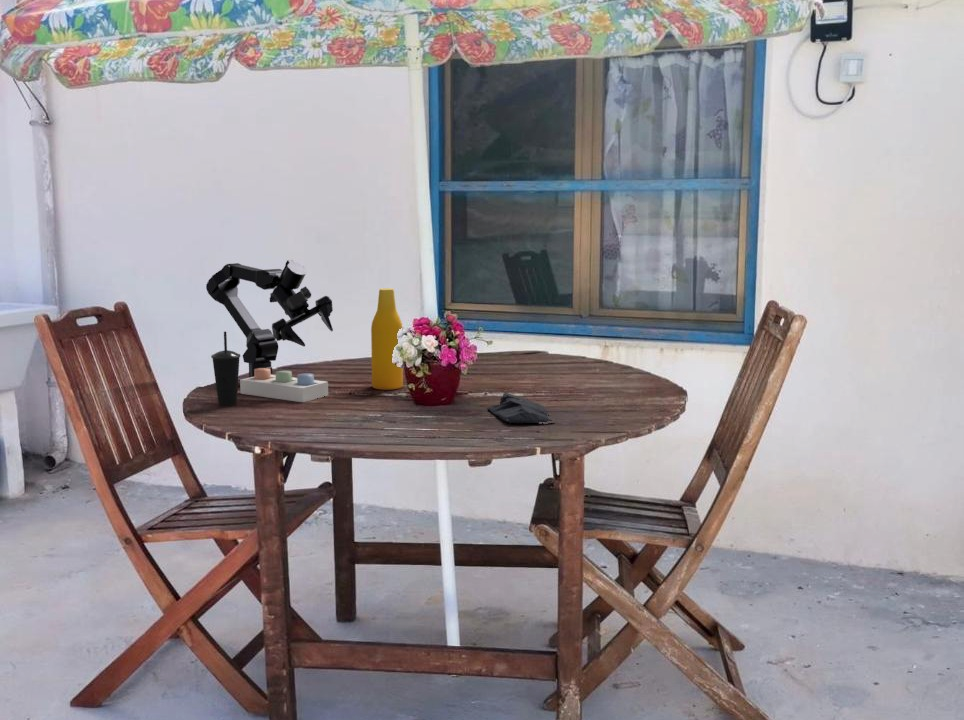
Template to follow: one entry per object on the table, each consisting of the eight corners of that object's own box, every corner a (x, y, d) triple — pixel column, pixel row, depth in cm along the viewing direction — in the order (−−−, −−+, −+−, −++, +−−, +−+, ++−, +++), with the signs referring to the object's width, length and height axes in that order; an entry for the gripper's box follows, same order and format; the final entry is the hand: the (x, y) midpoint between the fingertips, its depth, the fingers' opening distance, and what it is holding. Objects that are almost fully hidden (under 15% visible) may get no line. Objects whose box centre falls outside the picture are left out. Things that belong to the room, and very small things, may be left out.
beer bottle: (365, 386, 317) (364, 288, 312) (390, 382, 323) (389, 287, 318) (384, 391, 310) (383, 291, 306) (409, 387, 316) (408, 289, 312)
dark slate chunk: (498, 428, 268) (498, 409, 267) (485, 409, 289) (486, 392, 289) (558, 426, 270) (558, 408, 269) (541, 408, 291) (542, 391, 291)
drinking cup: (216, 401, 294) (214, 329, 291) (244, 401, 295) (242, 329, 291) (210, 407, 287) (207, 333, 284) (238, 407, 287) (236, 333, 284)
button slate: (294, 392, 300) (293, 375, 299) (304, 390, 304) (304, 372, 303) (306, 394, 297) (306, 376, 297) (317, 391, 301) (317, 374, 300)
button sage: (272, 389, 304) (272, 372, 303) (283, 387, 308) (282, 370, 307) (284, 391, 301) (284, 374, 301) (295, 388, 305) (295, 371, 304)
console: (240, 393, 306) (240, 379, 305) (266, 387, 315) (266, 373, 315) (302, 402, 294) (302, 388, 294) (328, 395, 304) (328, 381, 303)
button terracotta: (251, 386, 308) (250, 369, 307) (262, 384, 312) (261, 367, 311) (263, 388, 305) (262, 371, 305) (274, 386, 309) (273, 368, 308)
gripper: (258, 299, 300) (287, 337, 294) (315, 269, 307) (345, 306, 301) (262, 322, 309) (291, 359, 303) (317, 293, 316) (346, 328, 310)
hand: (318, 337), depth 304 cm, fingers open, 9 cm apart
